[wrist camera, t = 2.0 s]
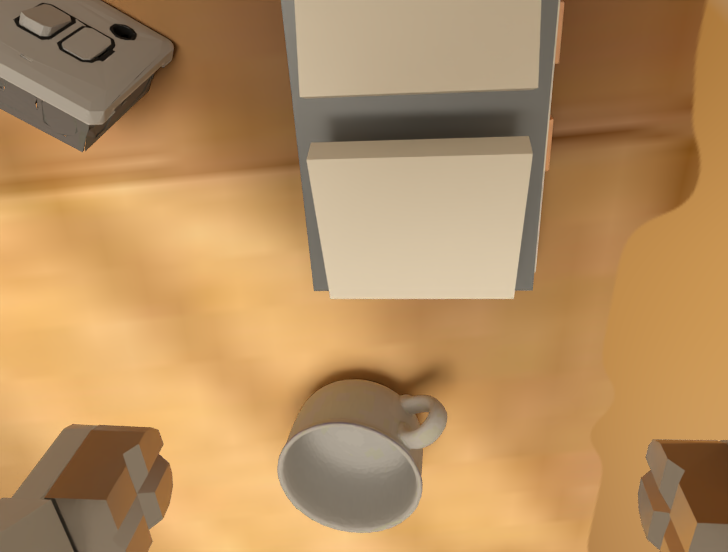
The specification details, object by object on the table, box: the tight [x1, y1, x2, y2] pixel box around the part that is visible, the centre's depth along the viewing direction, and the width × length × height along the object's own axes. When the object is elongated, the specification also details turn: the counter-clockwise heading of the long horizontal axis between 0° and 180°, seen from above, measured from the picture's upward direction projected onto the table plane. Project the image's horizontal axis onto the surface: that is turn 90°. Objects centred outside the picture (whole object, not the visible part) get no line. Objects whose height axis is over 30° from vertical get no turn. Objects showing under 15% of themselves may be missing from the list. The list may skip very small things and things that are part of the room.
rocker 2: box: [307, 136, 533, 299], centre depth 33 cm, size 10×11×2 cm
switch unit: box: [281, 0, 565, 291], centre depth 34 cm, size 24×14×7 cm, turn 3°
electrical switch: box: [0, 0, 174, 152], centre depth 34 cm, size 9×5×9 cm, turn 61°
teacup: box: [278, 379, 447, 533], centre depth 47 cm, size 14×11×8 cm
